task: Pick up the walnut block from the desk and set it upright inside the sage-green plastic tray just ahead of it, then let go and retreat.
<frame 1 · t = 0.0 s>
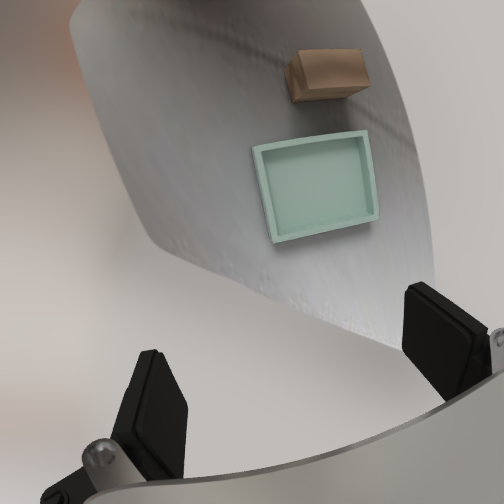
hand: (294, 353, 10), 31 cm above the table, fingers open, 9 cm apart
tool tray: (315, 182, 39), on the table
walnut block: (315, 83, 35), on the table
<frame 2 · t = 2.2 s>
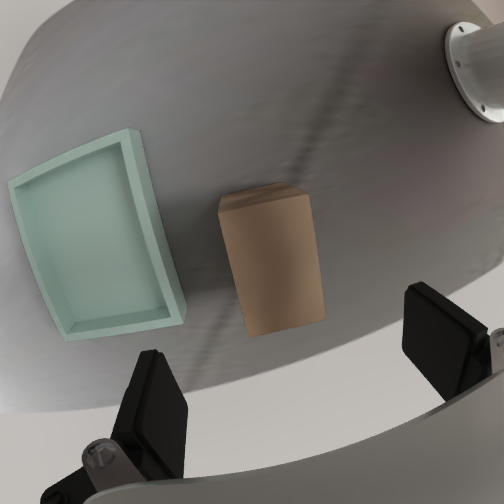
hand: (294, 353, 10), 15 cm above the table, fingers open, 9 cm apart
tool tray: (97, 240, 23), on the table
walnut block: (261, 236, 25), on the table
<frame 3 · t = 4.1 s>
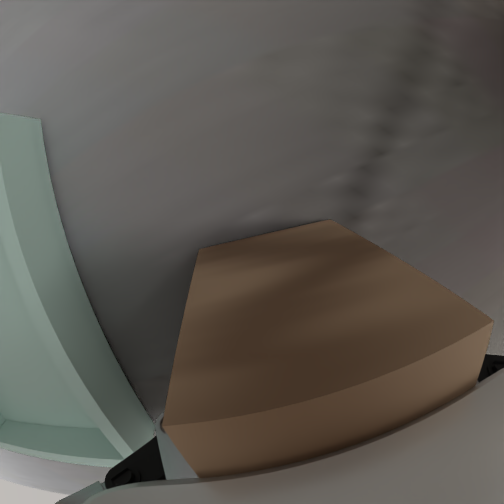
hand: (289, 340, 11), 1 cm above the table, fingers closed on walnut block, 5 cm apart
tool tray: (1, 318, 11), on the table
walnut block: (284, 325, 12), on the table, touching gripper
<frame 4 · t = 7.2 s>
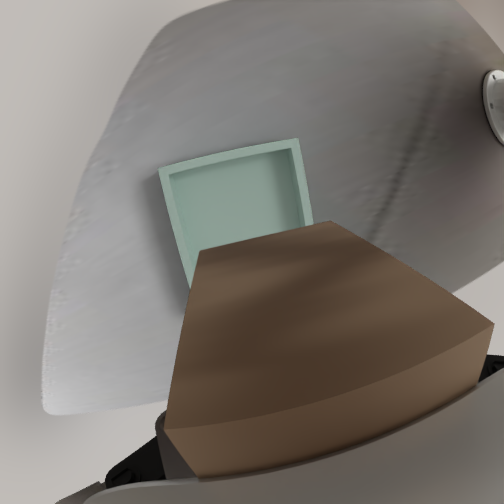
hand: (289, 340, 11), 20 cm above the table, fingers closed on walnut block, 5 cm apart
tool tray: (244, 229, 30), on the table
walnut block: (284, 327, 12), point 19 cm above the table, touching gripper
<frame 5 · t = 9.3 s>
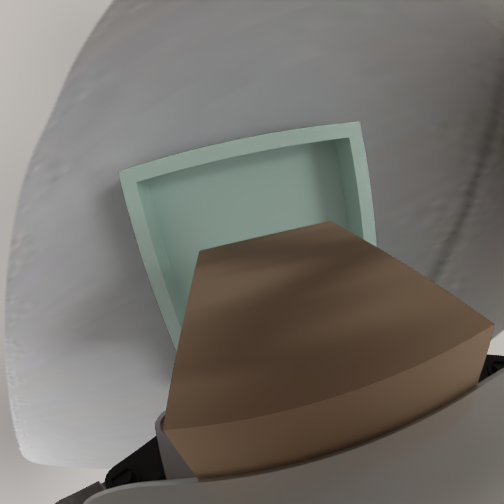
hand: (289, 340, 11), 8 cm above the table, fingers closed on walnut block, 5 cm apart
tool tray: (264, 267, 19), on the table
walnut block: (284, 327, 12), point 7 cm above the table, touching gripper
when the fingers open (3 cm above the table, at t = 10.7 s): walnut block drops 1 cm, resting on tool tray.
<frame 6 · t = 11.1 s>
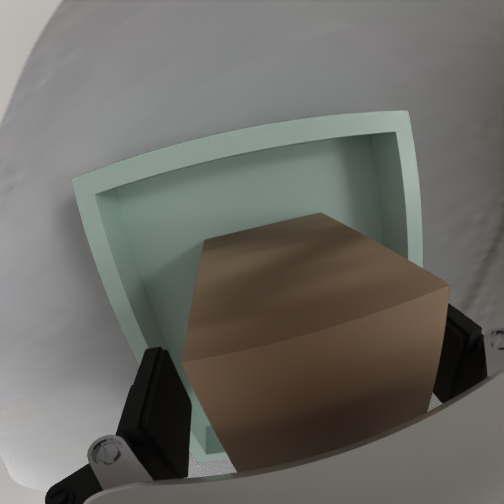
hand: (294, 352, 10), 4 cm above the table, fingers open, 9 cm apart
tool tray: (275, 302, 14), on the table
walnut block: (281, 309, 13), point 1 cm above the table, touching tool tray
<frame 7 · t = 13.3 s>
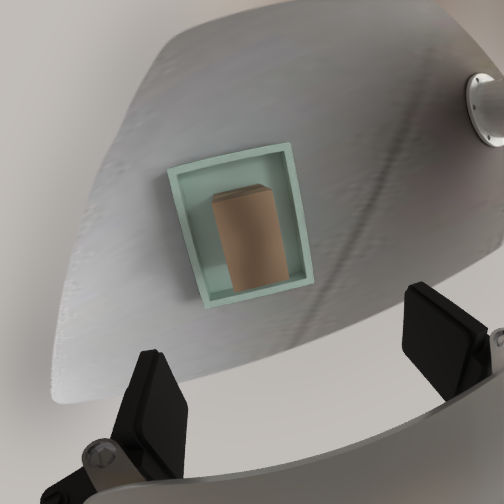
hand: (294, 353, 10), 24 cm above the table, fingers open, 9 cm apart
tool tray: (242, 223, 33), on the table
walnut block: (244, 224, 32), point 1 cm above the table, touching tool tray
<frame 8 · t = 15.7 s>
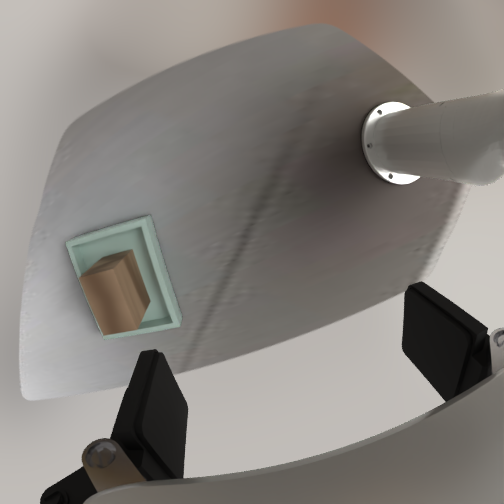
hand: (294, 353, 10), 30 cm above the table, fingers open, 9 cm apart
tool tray: (126, 277, 40), on the table
walnut block: (126, 279, 39), point 1 cm above the table, touching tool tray
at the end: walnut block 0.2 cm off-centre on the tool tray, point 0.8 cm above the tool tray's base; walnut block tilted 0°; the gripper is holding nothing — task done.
